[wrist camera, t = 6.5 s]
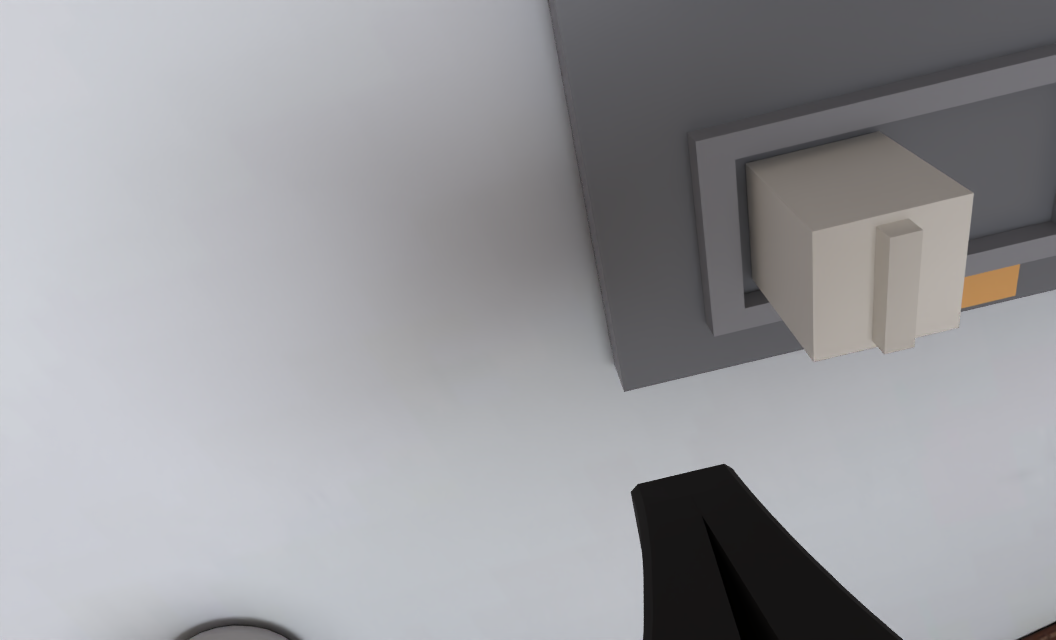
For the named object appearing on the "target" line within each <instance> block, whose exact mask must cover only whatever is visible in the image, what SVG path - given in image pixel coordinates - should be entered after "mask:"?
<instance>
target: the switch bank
mask: <svg viewBox="0 0 1056 640" xmlns="http://www.w3.org/2000/svg"><path fill="white" fill-rule="evenodd" d="M548 3H549V8H550V14H551V19H552V25H553V30H554V36H555V41H556V47H557V52H558V58H559V63H560V69H561V74H562V80H563V85H564V90H565V96H566V101H567V107H568V112H569V118H570V123H571V129H572V134H573V140H574V145H575V151H576V156H577V162H578V167H579V173H580V178H581V184H582V189H583V194H584V200H585V205H586V211H587V216H588V222H589V227H590V233H591V238H592V244H593V249H594V255H595V260H596V266H597V271H598V277H599V282H600V288H601V293H602V298H603V304H604V309H605V315H606V320H607V326H608V331H609V337H610V342H611V348H612V353H613V359H614V364H615V367H616V370H617V373H618V376H619V378H620V381H621V384H622V387H623V390H624V392H625V391H629V390H634V389H638V388H642V387H646V386H650V385H655V384H659V383H663V382H667V381H671V380H676V379H680V378H684V377H688V376H693V375H697V374H701V373H705V372H709V371H714V370H718V369H722V368H726V367H730V366H735V365H739V364H743V363H747V362H752V361H756V360H760V359H764V358H768V357H773V356H777V355H781V354H785V353H790V352H794V351H798V350H802V349H804V348H803V347H802V346H801V344H800V343H799V342H798V340H797V339H796V338H795V336H794V335H793V333H792V332H791V331H790V329H789V328H788V327H787V325H786V324H785V323H784V321H783V320H782V319H781V317H780V316H779V315H778V313H777V312H776V310H775V309H774V308H773V306H772V305H771V304H770V302H769V301H768V300H767V298H766V297H765V296H764V294H763V293H762V292H761V290H760V289H759V287H758V286H757V285H756V283H755V282H754V281H753V279H752V265H751V248H750V231H749V214H748V197H747V180H746V163H749V162H754V161H758V160H762V159H766V158H770V157H774V156H779V155H783V154H787V153H791V152H795V151H799V150H803V149H808V148H812V147H816V146H820V145H824V144H828V143H833V142H837V141H841V140H845V139H849V138H853V137H857V136H862V135H866V134H870V133H874V132H878V131H879V132H881V133H883V134H884V135H886V136H887V137H889V138H890V139H892V140H893V141H895V142H896V143H898V144H899V145H901V146H902V147H904V148H906V149H907V150H909V151H910V152H912V153H913V154H915V155H916V156H918V157H919V158H921V159H922V160H924V161H925V162H927V163H929V164H930V165H932V166H933V167H935V168H936V169H938V170H939V171H941V172H942V173H944V174H945V175H947V176H948V177H950V178H952V179H953V180H955V181H956V182H958V183H959V184H961V185H962V186H964V187H965V188H967V189H968V190H970V191H971V192H973V193H974V197H973V206H972V215H971V224H970V233H969V241H968V250H967V259H966V268H965V277H964V286H963V295H962V304H961V312H962V311H967V310H971V309H975V308H979V307H983V306H988V305H992V304H996V303H1000V302H1005V301H1009V300H1013V299H1017V298H1021V297H1026V296H1030V295H1034V294H1038V293H1042V292H1047V291H1051V290H1055V289H1056V0H548Z"/></svg>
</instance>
